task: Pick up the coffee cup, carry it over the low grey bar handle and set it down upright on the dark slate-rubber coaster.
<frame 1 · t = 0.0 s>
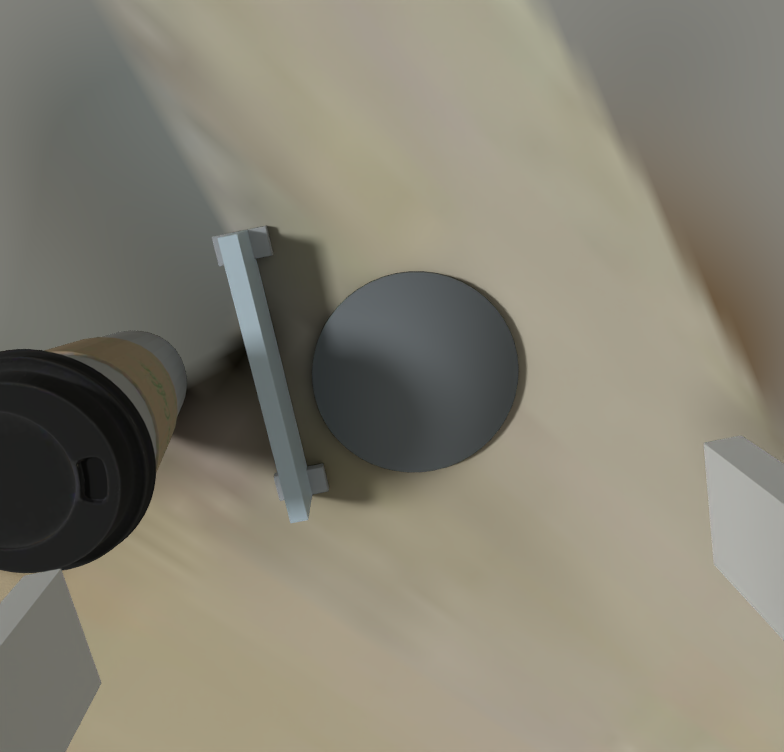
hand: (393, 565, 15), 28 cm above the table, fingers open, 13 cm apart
coaster: (415, 373, 43), on the table
grey bar handle: (274, 367, 42), on the table
coffee cup: (136, 377, 42), on the table
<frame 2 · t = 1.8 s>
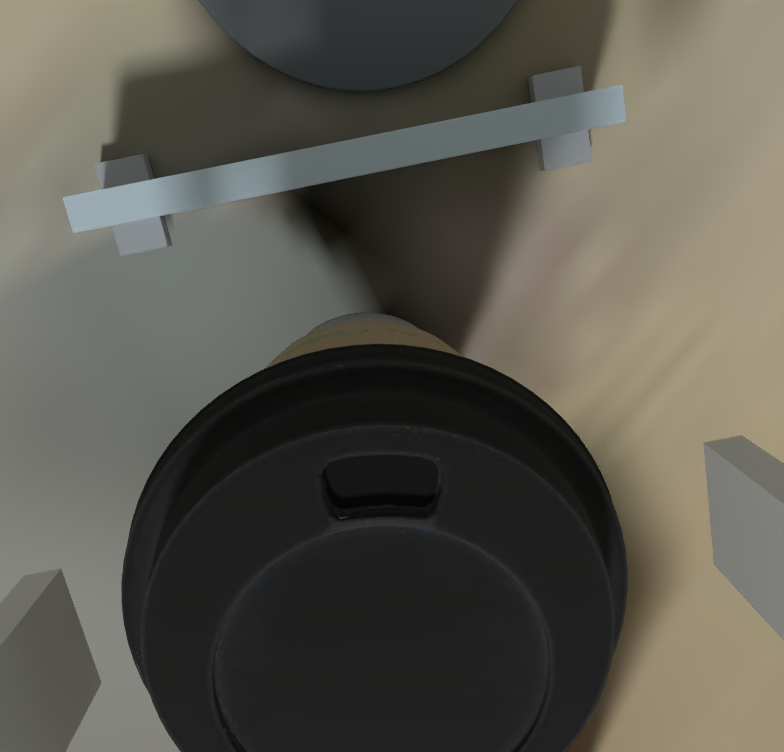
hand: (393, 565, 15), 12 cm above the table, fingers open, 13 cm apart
grey bar handle: (347, 162, 24), on the table
coffee cup: (365, 391, 27), on the table
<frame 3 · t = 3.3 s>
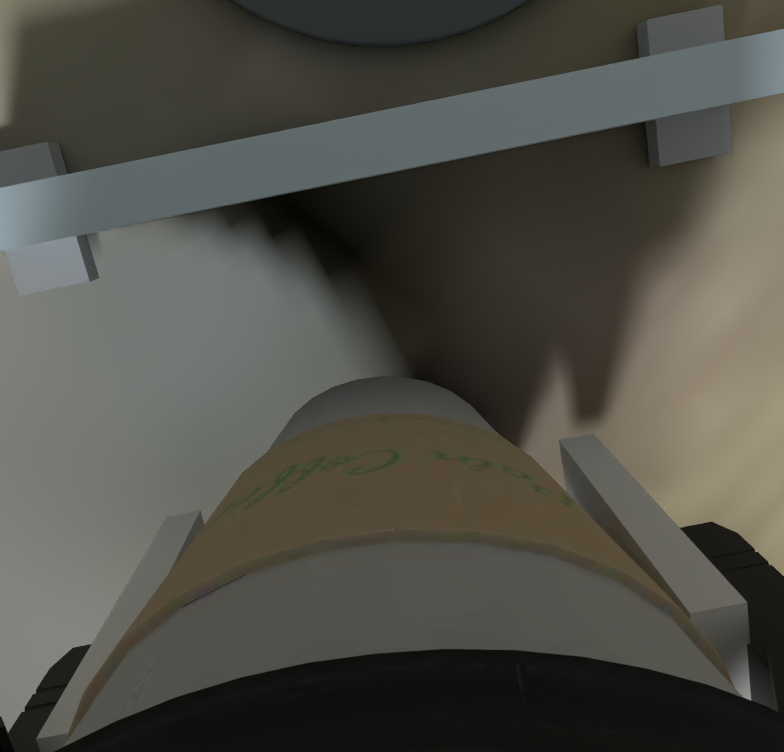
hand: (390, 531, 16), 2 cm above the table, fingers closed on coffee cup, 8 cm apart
grey bar handle: (359, 155, 16), on the table
coffee cup: (385, 486, 18), on the table, touching gripper
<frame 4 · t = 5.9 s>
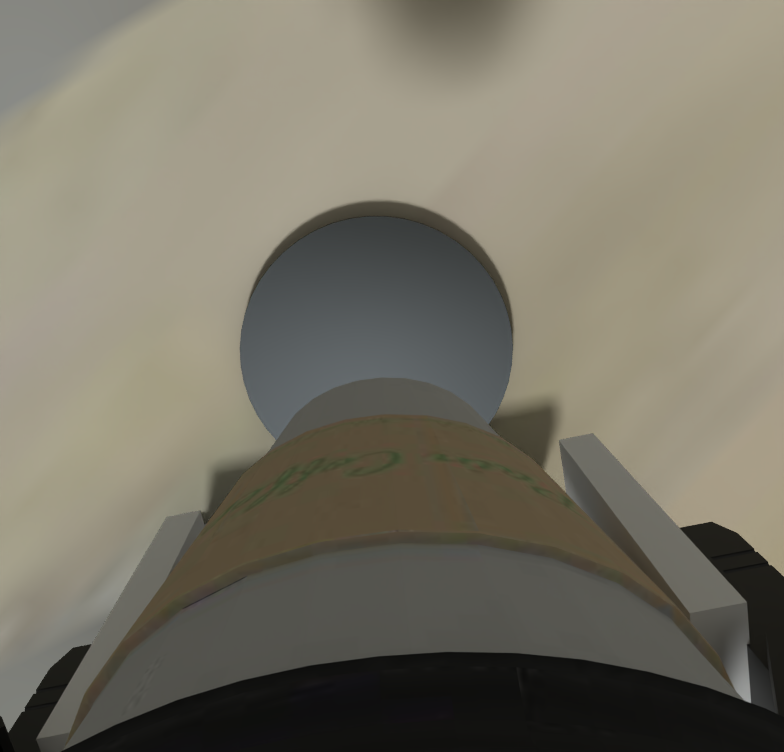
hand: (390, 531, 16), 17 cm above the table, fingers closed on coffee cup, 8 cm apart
coaster: (377, 352, 32), on the table
coffee cup: (385, 487, 18), point 15 cm above the table, touching gripper
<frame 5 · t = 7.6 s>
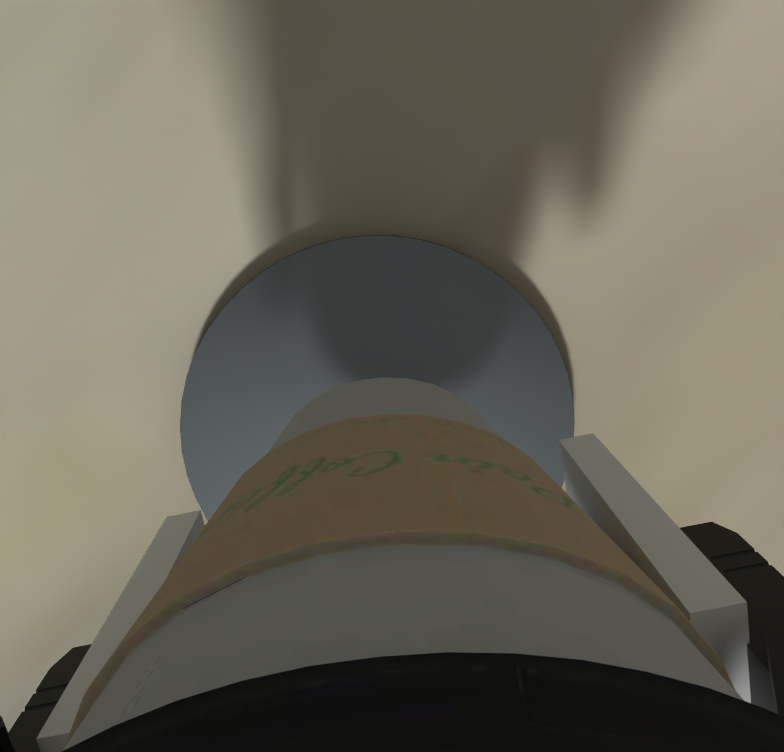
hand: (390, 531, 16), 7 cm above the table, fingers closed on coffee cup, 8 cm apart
coaster: (379, 429, 23), on the table
coffee cup: (385, 487, 18), point 4 cm above the table, touching gripper
when the fingers open (4 cm above the table, at t = 8.7 s): coffee cup stays where it is, resting on coaster.
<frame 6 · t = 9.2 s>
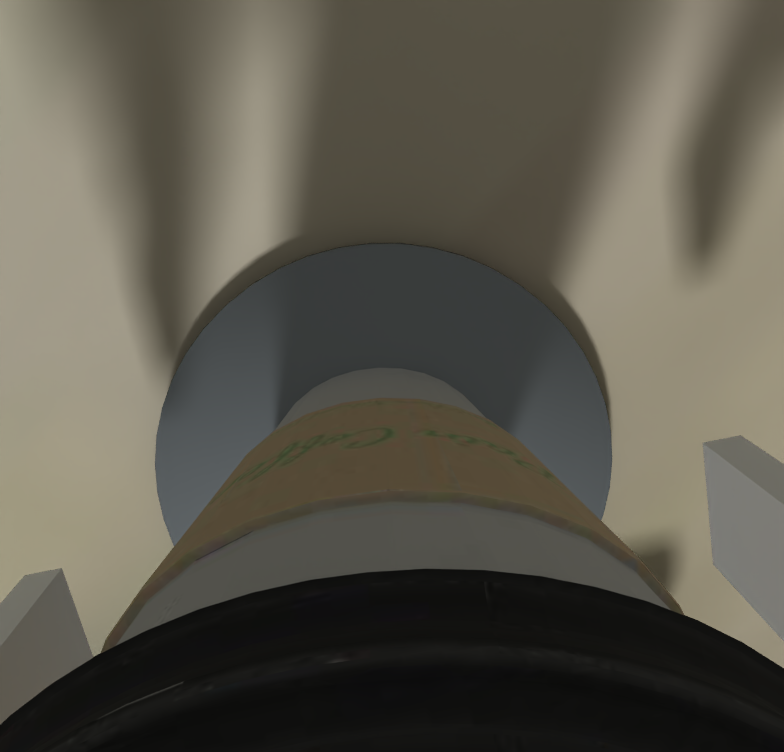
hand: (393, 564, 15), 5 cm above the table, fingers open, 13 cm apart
coaster: (385, 466, 20), on the table
coffee cup: (382, 473, 19), resting on coaster
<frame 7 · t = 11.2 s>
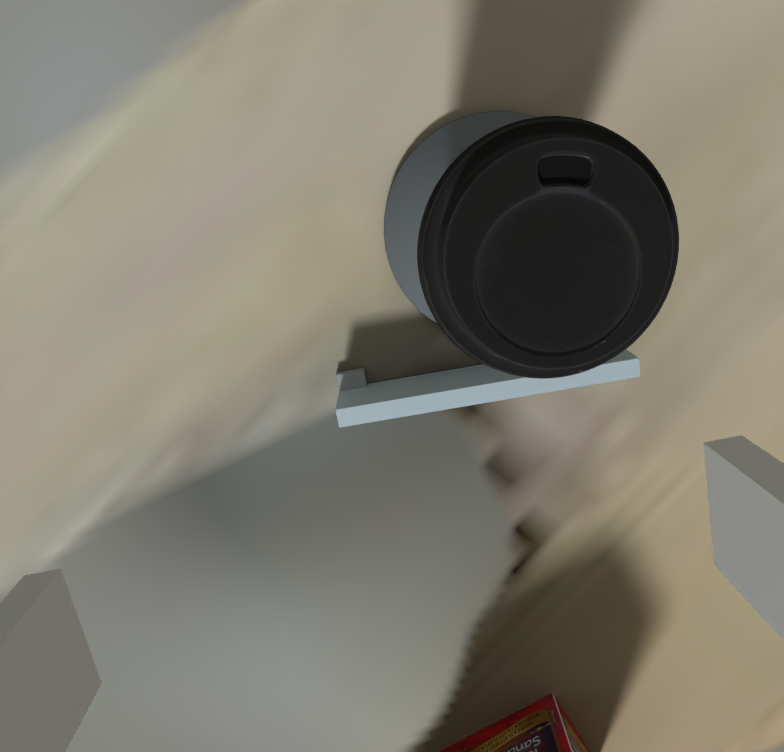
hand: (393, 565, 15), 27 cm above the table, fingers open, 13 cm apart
coaster: (493, 228, 40), on the table
grey bar handle: (477, 373, 42), on the table
coffee cup: (492, 229, 39), resting on coaster
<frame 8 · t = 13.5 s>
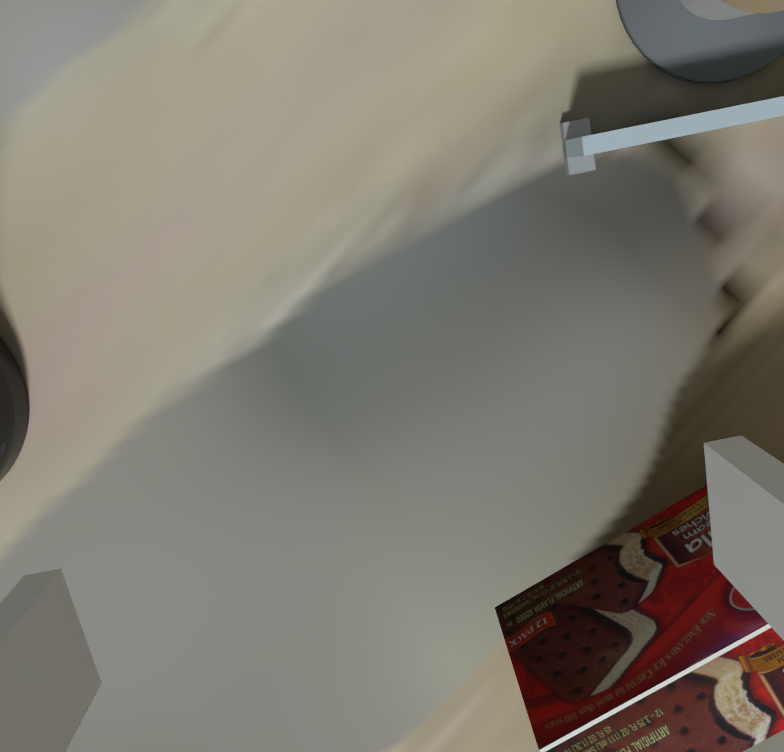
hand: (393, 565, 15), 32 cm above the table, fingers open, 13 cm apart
grey bar handle: (695, 122, 43), on the table
ice cream box: (638, 568, 51), on the table
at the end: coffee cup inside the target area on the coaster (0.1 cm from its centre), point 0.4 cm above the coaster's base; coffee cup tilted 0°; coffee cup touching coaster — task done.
